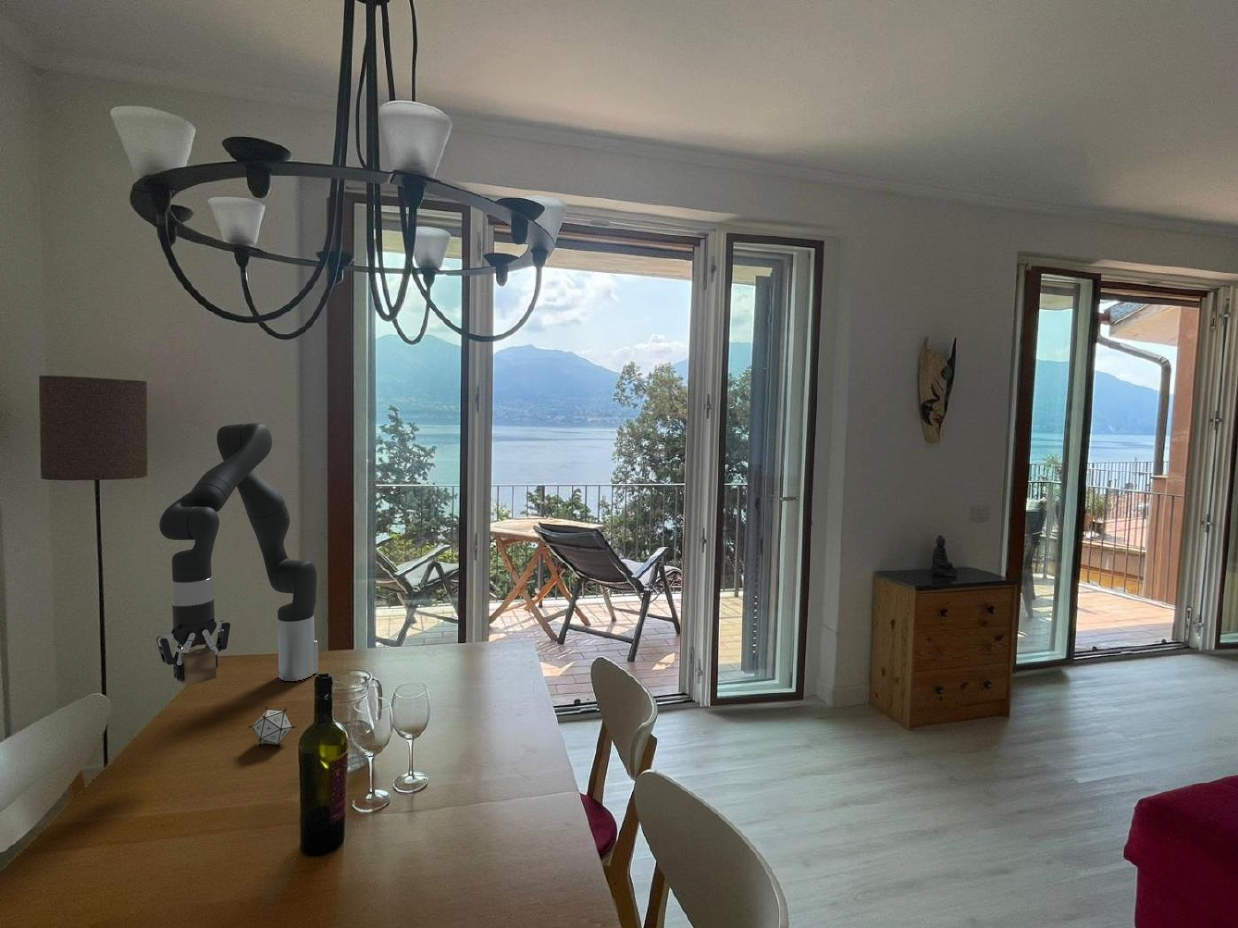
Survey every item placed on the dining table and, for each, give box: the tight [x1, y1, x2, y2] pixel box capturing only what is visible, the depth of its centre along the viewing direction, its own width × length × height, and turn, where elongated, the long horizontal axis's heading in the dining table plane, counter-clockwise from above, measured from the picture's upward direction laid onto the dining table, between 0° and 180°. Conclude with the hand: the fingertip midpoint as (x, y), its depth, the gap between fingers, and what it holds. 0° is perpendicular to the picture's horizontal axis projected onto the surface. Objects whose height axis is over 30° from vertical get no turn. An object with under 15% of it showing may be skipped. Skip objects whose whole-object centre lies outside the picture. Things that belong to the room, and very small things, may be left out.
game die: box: [247, 706, 297, 746], centre depth 148 cm, size 9×8×10 cm
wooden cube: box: [176, 645, 217, 687], centre depth 141 cm, size 6×6×6 cm
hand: (196, 675), depth 142 cm, fingers closed on wooden cube, 5 cm apart
